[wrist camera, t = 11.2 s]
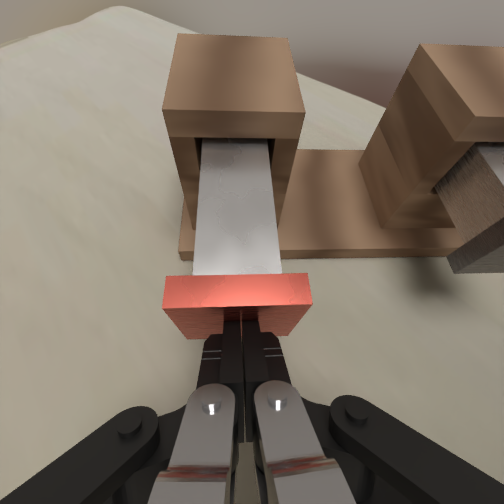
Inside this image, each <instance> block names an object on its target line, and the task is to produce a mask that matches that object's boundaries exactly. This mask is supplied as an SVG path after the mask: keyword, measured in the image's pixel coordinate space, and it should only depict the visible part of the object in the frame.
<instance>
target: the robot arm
mask: <svg viewBox="0 0 504 504" xmlns="http://www.w3.org/2000/svg"><path fill="white" fill-rule="evenodd" d="M244 407H245V426H246V442H253V448H254V473H255V480H256V487H257V494H258V500H259V504H504V485H503V484H502V483H500V482H499V481H497V480H495V479H494V478H492V477H490V476H489V475H487V474H485V473H484V472H482V471H481V470H479V469H477V468H476V467H474V466H472V465H471V464H469V463H468V462H466V461H464V460H463V459H461V458H459V457H458V456H456V455H454V454H453V453H451V452H450V451H448V450H446V449H445V448H443V447H441V446H440V445H438V444H437V443H435V442H433V441H432V440H430V439H428V438H427V437H425V436H424V435H422V434H420V433H419V432H417V431H415V430H414V429H412V428H410V427H409V426H407V425H406V424H404V423H402V422H401V421H399V420H397V419H396V418H394V417H393V416H391V415H389V414H388V413H386V412H384V411H383V410H381V409H379V408H378V407H376V406H375V405H373V404H371V403H370V402H368V401H366V400H364V399H362V398H360V397H357V396H352V395H343V396H339V397H337V398H336V399H334V400H333V402H332V403H331V406H326V405H321V404H317V403H313V402H310V401H308V400H306V399H304V398H302V397H301V396H300V394H299V392H298V391H297V390H296V388H295V387H293V386H292V384H291V381H290V377H289V374H288V370H287V367H286V363H285V360H284V357H283V353H282V350H281V346H280V343H279V339H278V338H277V337H276V336H275V335H274V334H273V333H272V332H261V331H260V325H259V320H253V321H242V343H241V324H240V321H228V322H223V334H211V335H210V336H209V337H208V338H207V340H206V341H205V342H204V348H203V354H202V360H201V365H200V371H199V376H198V382H197V388H196V390H195V391H194V392H193V393H192V394H191V396H190V397H189V399H188V402H187V404H186V405H185V406H183V407H182V408H180V409H178V410H176V411H174V412H171V413H168V414H165V415H162V416H159V417H158V416H157V414H156V412H155V411H154V410H153V409H151V408H149V407H144V406H137V407H132V408H129V409H126V410H124V411H122V412H120V413H119V414H117V415H116V416H114V417H113V418H112V419H110V420H109V421H107V422H106V423H105V424H103V425H102V426H101V427H99V428H98V429H97V430H95V431H94V432H93V433H91V434H90V435H88V436H87V437H86V438H84V439H83V440H82V441H80V442H79V443H78V444H76V445H75V446H74V447H72V448H71V449H69V450H68V451H67V452H65V453H64V454H63V455H61V456H60V457H59V458H57V459H56V460H55V461H53V462H52V463H51V464H49V465H48V466H46V467H45V468H44V469H42V470H41V471H40V472H38V473H37V474H36V475H34V476H33V477H32V478H30V479H29V480H27V481H26V482H25V483H23V484H22V485H21V486H19V487H18V488H17V489H15V490H14V491H13V492H11V493H10V494H8V495H7V496H6V497H4V498H3V499H2V500H0V504H235V492H236V475H237V464H238V458H239V451H238V443H244Z"/></svg>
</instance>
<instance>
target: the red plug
mask: <svg viewBox="0 0 504 504" xmlns="http://www.w3.org/2000/svg"><path fill="white" fill-rule="evenodd" d="M312 304H313V303H312V297H311V291H310V285H309V279H308V273H291V274H282V268H281V259H280V250H279V241H278V232H277V223H276V215H275V206H274V197H273V188H272V179H271V170H270V161H269V152H268V144H267V138H215V137H203V140H202V154H201V168H200V181H199V195H198V208H197V222H196V235H195V249H194V262H193V275H190V276H166V281H165V289H164V297H163V305H162V309H163V310H164V311H165V313H166V314H167V315H168V316H169V317H170V319H171V320H172V321H173V322H174V324H175V325H176V326H177V327H178V329H179V330H180V331H181V332H182V334H183V335H184V336H185V337H186V338H187V339H207V338H208V337H209V336H210V335H211V334H223V322H228V321H240V324H241V337H242V321H253V320H259V325H260V331H261V332H272V333H273V334H274V335H275V336H288V335H289V333H290V332H291V331H292V330H293V328H294V327H295V326H296V324H297V323H298V322H299V321H300V319H301V318H302V317H303V316H304V314H305V313H306V312H307V311H308V309H309V308H310V307H311V306H312Z"/></svg>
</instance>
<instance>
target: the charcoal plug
mask: <svg viewBox="0 0 504 504" xmlns="http://www.w3.org/2000/svg"><path fill="white" fill-rule="evenodd" d="M434 187H435V189H436V191H437V193H438V195H439V197H440V199H441V201H442V202H443V204H444V206H445V208H446V210H447V212H448V214H449V216H450V218H451V220H452V222H453V223H454V225H455V227H456V229H457V231H458V233H459V235H460V237H461V239H462V241H463V243H464V245H462V246H461V247H459V248H458V249H456V250H455V251H454V252H452V253H451V254H449V255H448V256H446V257H447V260H448V262H449V264H450V266H451V268H452V270H453V272H454V274H460V273H504V142H475V143H474V144H473V145H472V146H471V147H470V149H469V150H468V151H467V152H466V153H465V154H464V155H463V156H462V157H461V158H460V159H459V160H458V161H457V163H456V164H455V165H454V166H453V167H452V168H451V169H450V170H449V171H448V172H447V173H446V174H445V176H444V177H443V178H442V179H441V180H440V181H439V182H438V183H437V184H436V185H435V186H434Z"/></svg>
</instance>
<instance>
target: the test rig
mask: <svg viewBox="0 0 504 504" xmlns="http://www.w3.org/2000/svg"><path fill="white" fill-rule="evenodd" d="M162 112H163V116H164V119H165V123H166V127H167V131H168V135H169V139H170V143H171V147H172V151H173V154H174V158H175V162H176V166H177V170H178V174H179V178H180V182H181V186H182V190H183V193H184V203H183V212H182V221H181V230H180V239H179V249H178V252H179V255H180V257H181V260H194V249H195V235H196V222H197V208H198V195H199V181H200V168H201V154H202V140H203V137H215V138H267V144H268V152H269V161H270V170H271V179H272V188H273V197H274V206H275V215H276V223H277V232H278V241H279V250H280V259H300V258H363V257H426V256H448V255H449V254H451V253H452V252H454V251H455V250H456V249H458V248H459V247H461V246H462V245H464V243H463V241H462V239H461V237H460V235H459V233H458V231H457V229H456V227H455V225H454V223H453V222H452V220H451V218H450V216H449V214H448V212H447V210H446V208H445V206H444V204H443V202H442V201H441V199H440V197H439V195H438V193H437V191H436V189H435V187H434V186H435V185H436V184H437V183H438V182H439V181H440V180H441V179H442V178H443V177H444V176H445V174H446V173H447V172H448V171H449V170H450V169H451V168H452V167H453V166H454V165H455V164H456V163H457V161H458V160H459V159H460V158H461V157H462V156H463V155H464V154H465V153H466V152H467V151H468V150H469V149H470V147H471V146H472V145H473V144H474V143H475V142H504V47H489V46H466V45H441V44H419V46H418V48H417V50H416V52H415V54H414V56H413V58H412V60H411V62H410V64H409V66H408V67H407V69H406V71H405V74H404V75H403V77H402V79H401V81H400V83H399V85H398V87H397V89H396V91H395V93H394V95H393V97H392V99H391V101H390V102H389V104H388V106H387V108H386V110H385V112H384V114H383V116H382V118H381V120H380V122H379V124H378V126H377V128H376V130H375V132H374V134H373V135H372V137H371V139H370V141H369V143H368V145H367V147H366V149H365V150H308V149H297V146H298V142H299V138H300V133H301V129H302V125H303V121H304V117H305V113H306V112H305V108H304V104H303V100H302V96H301V92H300V88H299V84H298V79H297V75H296V71H295V67H294V63H293V59H292V55H291V51H290V47H289V42H288V39H287V38H275V37H251V36H226V35H203V34H180V33H178V35H177V40H176V44H175V49H174V54H173V59H172V63H171V68H170V73H169V78H168V83H167V87H166V92H165V97H164V102H163V106H162Z"/></svg>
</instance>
